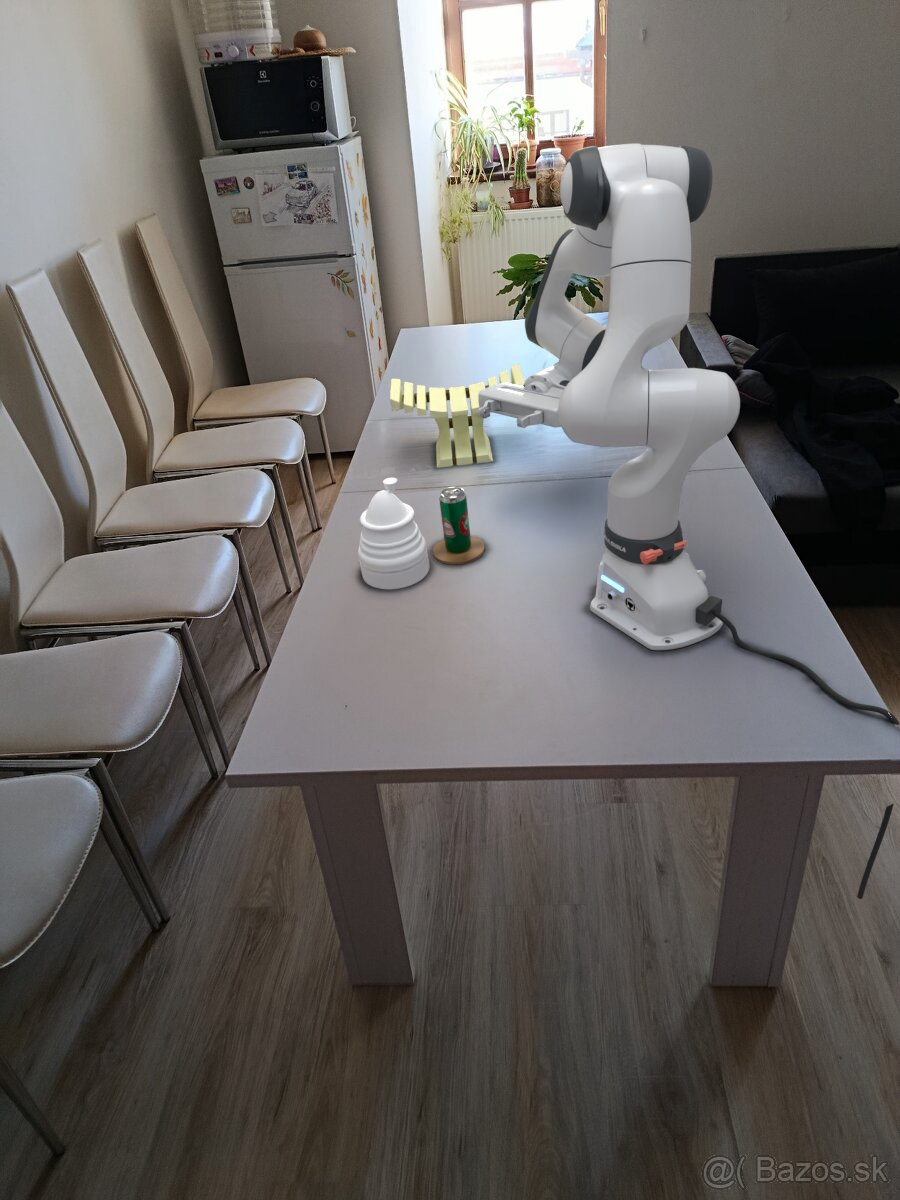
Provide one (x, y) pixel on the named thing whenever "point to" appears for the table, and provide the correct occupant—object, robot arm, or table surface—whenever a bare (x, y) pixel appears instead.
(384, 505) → the honey pot
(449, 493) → the soda can
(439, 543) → the cork coaster
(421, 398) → the slatted curved stool
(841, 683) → the table surface
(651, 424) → the robot arm
